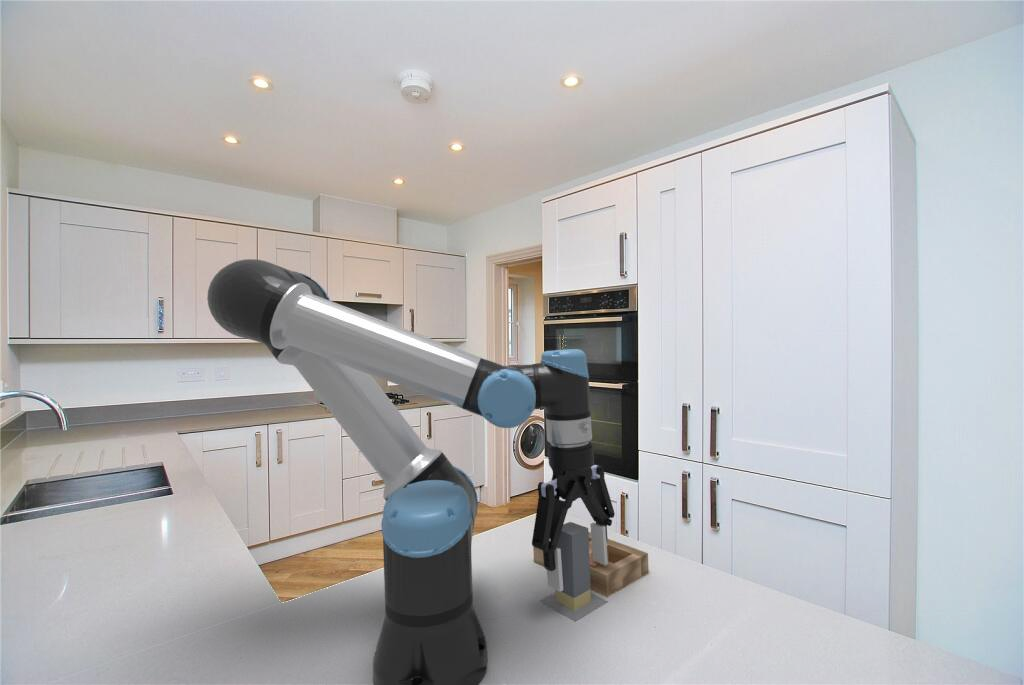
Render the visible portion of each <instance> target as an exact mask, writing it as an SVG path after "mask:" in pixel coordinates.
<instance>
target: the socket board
mask: <svg viewBox="0 0 1024 685" xmlns="http://www.w3.org/2000/svg"><path fill="white" fill-rule="evenodd" d="M588 532H589V561H590V589H591V591H593V592H595V593H597V594H599V595H601V596H604V597H606V598H608V597H610V596H612V595H614V594H615V593H617V592H619V591H621V590H622V589H624V588H626V587H627V586H630V585H631V584H633V583H634V582H636V581H638V580H639V579H641V578H643V577H644V576H646V575H648V574H649V553H648V552H647V551H644V550H639V549H638V548H635V547H632V546H629V545H626V544H624V543H621V542H618V541H616V540H613V539H610V538H607V542H606V543H607V558H608V564H607V565H603V564H600V563H598V562H595V561H593V554H592V540H591V531H588ZM549 541H551V540H550V539H549ZM532 547H533V548H532V549H533V551H532V552H533V563H535V564H537V565H539V566H542V567H544V559H543V550H540V549H538V548H536V547H534V546H532ZM544 568H545V567H544Z"/></svg>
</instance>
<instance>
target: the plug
mask: <svg viewBox="0 0 1024 685" xmlns="http://www.w3.org/2000/svg"><path fill="white" fill-rule="evenodd" d="M589 532H590V531H589V528H588V527H587V526H584V525H582V524H578V523H575V522H572V521H569V522H566V523H564V524H563V527H562V531H561V534H560V537H559V541H558V544H557V548H560V549H561V562H562V577H563V591H561V592H559V591H557V590H555V592H556V601H557V602H559V603H561V604H563V605H564V606H566V607H568V608H570V609H572V610H574V611H575V610H577V609H579V608H580V607H582V606H584V605H586V604H587V603H589V602H591V591H592V590H591V589H590V561H589Z"/></svg>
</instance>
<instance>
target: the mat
mask: <svg viewBox="0 0 1024 685" xmlns="http://www.w3.org/2000/svg"><path fill="white" fill-rule="evenodd" d="M539 602H540V603H542V604H543V605H546V606H547V607H549V609H550V608H551V609H552V610H554V611H556V612H558V613H559V614H561V615H563V616H564V617H567V618H568V619H570V620H571V621H573V622H577V621H579V620H581V619H582V618H584V617H586V616H587V615H589V614H591V613H593V612H594V611H596V610H598V609H599V608H600V607H602V606H604V605H605V604H607V603H609V601H608V600H606V599H605V598H601V597H599V596H597V595H595V594H594V593H591V602H589V603H587V604H586V605H584V606H582V607H580V608H579V609H577V610H575V611H574V610H572V609H570V608H568V607H566V606H564V605H563V604H561V603H559V602H557V601H556V591H555V592H554V593H552V594H550V595H547V596H546V597H544V598H542V599H540V600H539Z"/></svg>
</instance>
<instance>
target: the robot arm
mask: <svg viewBox="0 0 1024 685" xmlns="http://www.w3.org/2000/svg"><path fill="white" fill-rule="evenodd" d="M206 298H207V306H208V309H209V311H210V314H211V316H212V317H213V319H214V320H215V322H216V323H217V324H218V325H219V326H220V327H221V328H222V329H223V330H225V332H228V333H229V334H231V335H233V336H235V337H239V338H243V339H247V340H250V341H253V342H254V341H255V342H258V343H260V344H263V345H265V347H266V348H267V350H269V352H270V353H271V354H272V356H273V357H274V358H275V360H276V361H277V362H278V363H279V364H282V365H289V366H293V367H295V368H296V370H297V371H298V373H299V374H300V375H301V376H302V378H303V379H304V380H305V382H307V383H306V384H308V385H309V387H310V388H311V389H312V391H313V392H314V393H315V395H317V397H318V398H319V400H321V402H322V403H323V405H324V406H325V407H326V408H327V410H328V411H329V413H330V414H331V415H332V416H333V418H334V419H335V420H336V421H337V423H338V424H339V426H341V428H342V429H343V432H345V433H346V435H348V437H349V438H350V440H351V441H352V442H353V443H354V445H355V446H356V447H357V448H358V450H359V451H360V452H361V454H362V456H364V458H365V459H366V460H367V461H368V463H369V464H370V465H371V467H372V468H373V469H374V471H375V472H376V473H377V475H379V477H380V479H381V480H382V481H383V483H384V488H383V496H382V497H383V499H384V500H385V503H384V504H383V505H384V506H383V509H382V519H381V534H382V543H383V544H382V545H383V546H382V548H383V551H382V552H383V580H384V581H383V582H384V606H385V609H384V610H385V611H384V612H385V613H384V614H385V616H384V619H383V623H382V626H381V631H380V633H379V637H378V640H377V644H376V648H375V651H374V654H373V662H372V675H373V685H479V683H480V682H481V680H482V679H483V678H484V676H485V674H486V671H487V668H488V666H487V665H488V643H487V639H486V636H485V633H484V631H483V628H482V625H481V622H480V619H479V617H478V614H477V612H476V608H475V605H474V601H473V599H474V598H473V596H474V595H473V570H472V569H473V568H472V566H473V563H472V540H473V534H474V527H475V523H476V519H477V514H478V509H479V508H478V507H479V502H478V494H477V490H476V487H475V485H474V483H473V481H472V479H471V477H470V476H469V475H468V474H467V473H466V472H465V471H463V470H462V469H461V468H459V467H456V466H455V465H453V463H451V461H450V460H449V458H447V457H446V455H445V454H444V453H443V451H442V450H441V449H436V448H430V447H427V446H426V444H425V443H424V442H423V440H422V439H421V437H419V435H418V434H417V433H416V432H415V430H414V429H413V428H412V426H411V424H409V422H408V421H407V420H406V418H405V417H404V416H403V414H401V412H400V411H399V409H398V408H397V407H396V406H395V404H394V402H392V401H391V399H390V398H389V396H387V393H385V391H384V390H383V389H382V388H381V386H380V385H379V384H378V382H377V381H376V379H375V378H374V377H376V378H378V379H380V380H381V379H382V380H384V381H387V382H390V383H392V384H395V385H398V386H400V387H402V388H406V389H409V390H412V391H414V392H417V393H420V394H422V395H424V396H428V397H431V398H433V399H435V400H439V401H441V402H445V403H447V404H449V405H453V406H455V407H457V408H461V409H462V410H465V411H468V412H470V413H472V414H475V415H477V416H479V417H480V416H481V417H482V418H484V419H485V420H486V421H487V422H489V423H490V424H491V425H493V426H495V427H498V428H502V429H512V428H513V429H514V428H517V427H519V426H521V425H523V424H524V423H525V422H527V421H528V420H529V418H530V417H531V416H532V414H533V413H534V411H535V410H541V409H544V411H545V414H544V415H545V429H546V441H547V442H548V443H549V444H548V446H547V456H548V458H547V459H548V465H549V468H551V470H552V477H551V479H550V481H548V482H543V481H540V482H538V484H537V492H538V502H537V506H536V513H535V520H534V526H533V533H532V539H531V546H532V547H533V546H534V547H536V548H538V549H540V550H543V559H544V569H546V575H547V576H546V578H547V579H546V580H547V587H550V588H552V589H554V590H555V591H556V590H557V591H559V592H561V591H563V577H562V562H561V549H560V548H557V544H558V541H559V537H560V534H561V531H562V527H563V524H565V520H566V516H567V514H568V510H569V509H571V508H572V506H573V502H575V501H576V500H578V499H581V501H582V503H583V505H585V508H586V509H587V511H588V513H589V514H590V516H591V518H592V520H593V521H594V522H592V523H590V524H589V525H590V532H591V540H592V554H593V561H595V562H598V563H600V564H603V565H607V564H608V558H607V543H606V542H607V539H608V527H610V526H612V525H613V520H612V519H614V517H615V514H616V513H615V511H614V506H613V504H612V503H613V502H612V500H611V496H610V493H609V489H608V486H607V483H606V479H605V467H604V466H603V465H598V464H595V454H594V444H593V443H592V442H591V441H592V439H593V432H592V418H591V416H592V415H591V414H592V413H591V398H590V396H591V395H590V382H589V381H590V380H589V379H590V375H589V370H588V369H589V368H588V362H587V361H588V360H587V356H586V353H585V352H584V351H583V350H582V349H579V348H573V349H572V348H571V349H569V348H568V349H555V350H545V351H543V352H542V353H541V355H540V356H541V357H540V358H541V360H540V362H537V363H532V364H516V365H514V364H513V365H502V364H500V363H497V362H494V361H491V360H488V359H485V358H483V357H480V356H478V355H475V354H473V353H470V352H468V351H465V350H462V349H459V348H456V347H454V346H452V345H449V344H446V343H443V342H440V341H439V340H436V339H434V338H430V337H428V336H424V335H421V334H419V333H417V332H414V331H412V330H408V329H407V328H403V327H400V326H398V325H395V324H393V323H390V322H387V321H384V320H382V319H379V318H377V317H374V316H372V315H368V314H366V313H363V312H360V311H358V310H356V309H353V308H351V307H347V306H345V305H343V304H339V303H337V302H335V301H332V300H331V299H330V296H329V294H328V293H327V292H326V290H325V289H324V288H323V287H322V285H321V284H320V283H318V281H316V280H314V279H312V277H311V276H308V275H306V274H304V273H301V272H298V271H294V270H290V269H287V268H285V267H282V266H279V265H277V264H274V263H272V262H269V261H266V260H262V259H256V258H255V259H253V258H252V259H251V258H249V259H241V260H240V259H239V260H236V261H233V262H231V263H230V264H229V263H228V264H227V265H226V266H224V267H222V268H221V269H220V270H218V272H217V273H216V274H215V275H214V276H213V278H212V279H211V281H210V284H209V286H208V289H207V297H206ZM560 498H561V499H560ZM549 539H550V540H551V541H549Z"/></svg>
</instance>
